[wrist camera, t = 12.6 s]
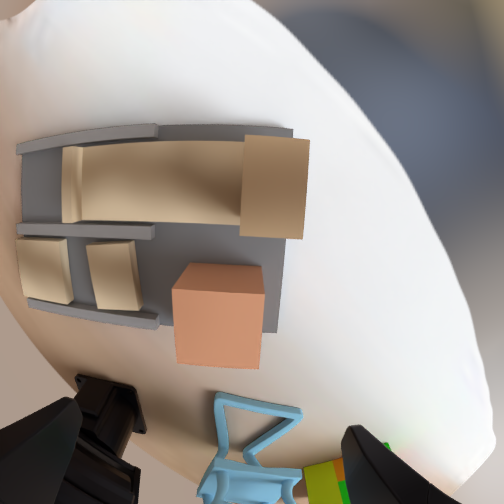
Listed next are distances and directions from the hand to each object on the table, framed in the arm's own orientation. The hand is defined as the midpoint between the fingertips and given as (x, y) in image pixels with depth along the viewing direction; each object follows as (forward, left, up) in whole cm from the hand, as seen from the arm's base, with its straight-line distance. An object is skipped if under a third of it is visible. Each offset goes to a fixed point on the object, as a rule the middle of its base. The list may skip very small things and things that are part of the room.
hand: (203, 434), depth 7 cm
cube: (0, 0, -11) cm, 11 cm away
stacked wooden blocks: (+7, +4, -11) cm, 13 cm away
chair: (-14, -2, -12) cm, 19 cm away
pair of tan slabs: (+1, +11, -11) cm, 16 cm away
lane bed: (+4, +7, -12) cm, 14 cm away
